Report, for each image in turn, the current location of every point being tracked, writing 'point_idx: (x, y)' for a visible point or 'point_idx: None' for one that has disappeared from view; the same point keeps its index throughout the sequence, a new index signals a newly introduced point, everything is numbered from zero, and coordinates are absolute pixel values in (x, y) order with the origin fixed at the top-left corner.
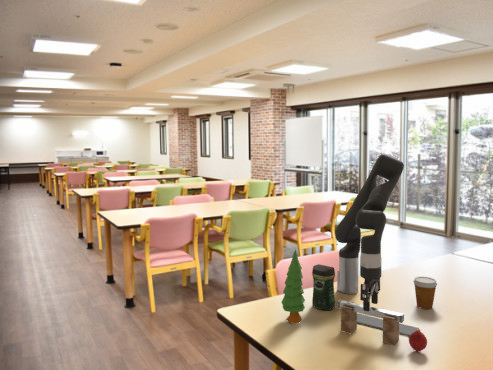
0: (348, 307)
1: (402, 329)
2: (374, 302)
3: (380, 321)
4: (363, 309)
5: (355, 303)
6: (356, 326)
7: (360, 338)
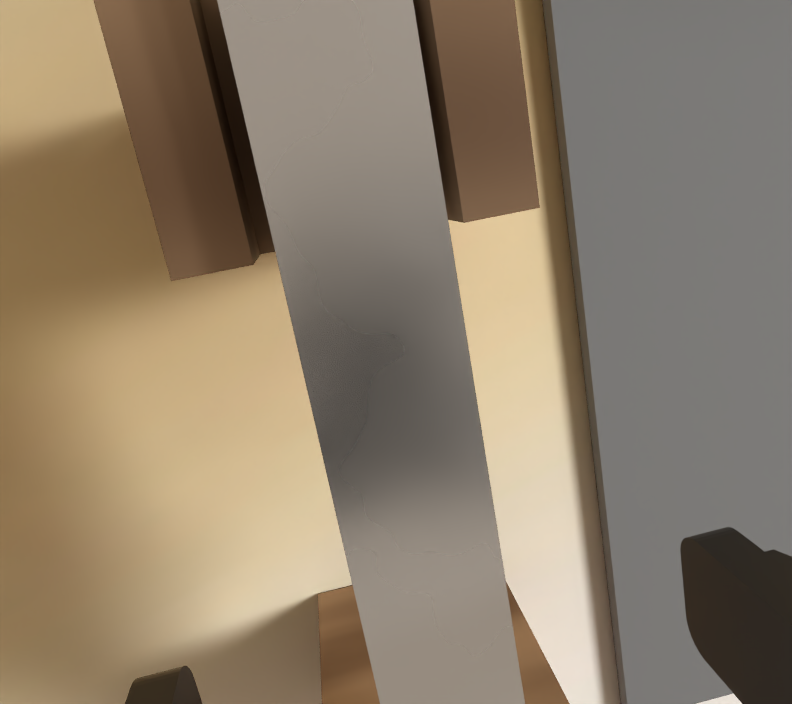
0: (187, 184)
1: None
2: (704, 607)
3: (754, 328)
4: (136, 688)
5: (442, 243)
6: None
7: (211, 393)
